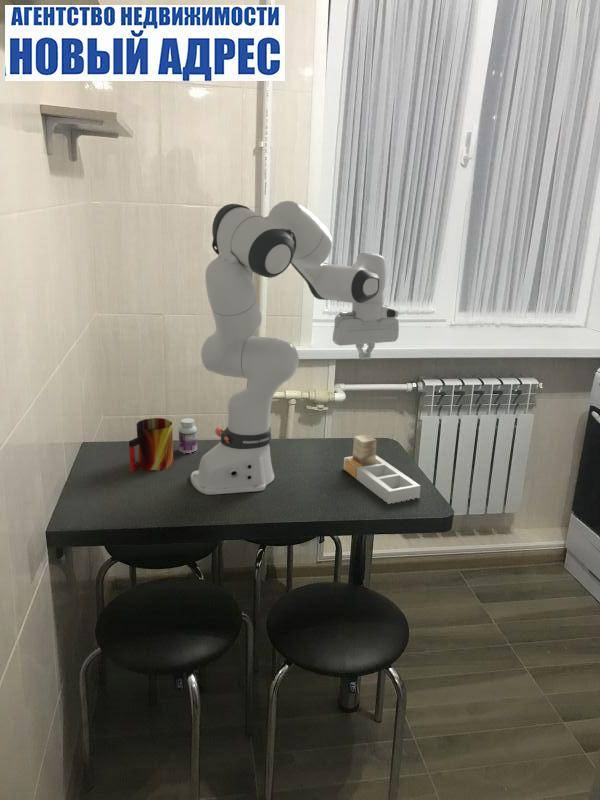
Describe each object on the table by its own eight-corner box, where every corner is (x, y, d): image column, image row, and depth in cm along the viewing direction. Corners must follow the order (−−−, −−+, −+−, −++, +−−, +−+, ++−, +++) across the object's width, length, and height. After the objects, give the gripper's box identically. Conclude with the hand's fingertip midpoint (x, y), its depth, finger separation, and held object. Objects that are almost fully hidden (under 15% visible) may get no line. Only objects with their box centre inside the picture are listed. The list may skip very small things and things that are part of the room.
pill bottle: (177, 448, 192) (176, 418, 189) (194, 446, 194) (193, 416, 191) (181, 455, 187) (180, 424, 184) (199, 452, 189) (198, 422, 186)
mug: (129, 476, 172) (127, 434, 169) (143, 456, 185) (141, 417, 182) (165, 477, 172) (164, 435, 169) (176, 457, 185) (175, 418, 182)
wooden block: (359, 475, 178) (362, 442, 175) (351, 469, 182) (353, 436, 179) (374, 473, 180) (376, 440, 177) (365, 467, 184) (368, 434, 181)
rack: (387, 504, 161) (388, 490, 160) (342, 469, 182) (343, 456, 180) (419, 498, 165) (420, 484, 164) (372, 464, 186) (373, 452, 185)
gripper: (340, 314, 175) (338, 363, 179) (403, 311, 184) (399, 358, 188) (330, 310, 180) (327, 358, 185) (391, 307, 189) (387, 353, 193)
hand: (364, 358), depth 186 cm, fingers closed
